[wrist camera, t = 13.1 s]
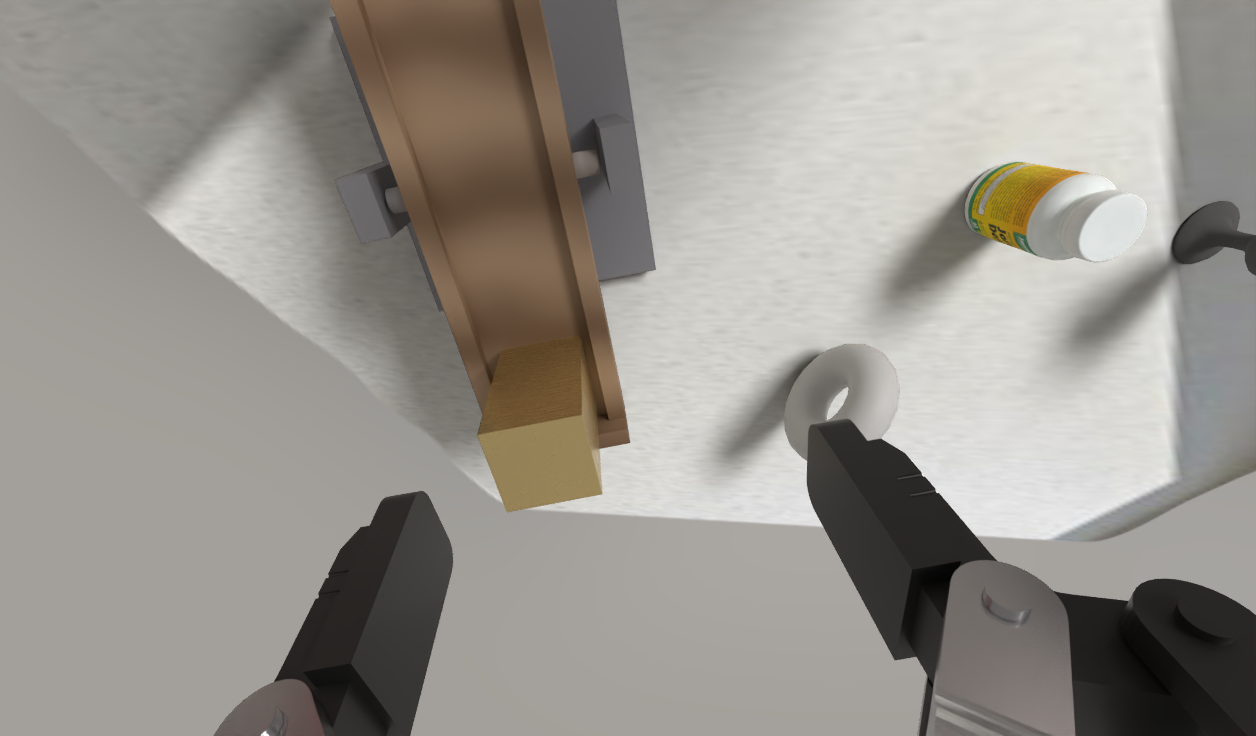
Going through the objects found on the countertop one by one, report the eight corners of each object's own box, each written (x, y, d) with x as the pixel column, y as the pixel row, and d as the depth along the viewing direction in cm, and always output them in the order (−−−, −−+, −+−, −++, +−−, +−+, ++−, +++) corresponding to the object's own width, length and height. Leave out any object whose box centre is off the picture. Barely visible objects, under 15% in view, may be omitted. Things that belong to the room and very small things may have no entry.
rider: (501, 350, 29) (477, 434, 22) (580, 335, 29) (582, 415, 22) (522, 416, 31) (507, 512, 24) (596, 401, 31) (602, 494, 24)
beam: (243, -215, 19) (168, -283, 16) (518, -270, 19) (505, -349, 16) (485, 432, 34) (475, 472, 30) (642, 402, 34) (650, 439, 30)
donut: (835, 315, 42) (904, 375, 33) (865, 334, 43) (939, 397, 34) (760, 407, 46) (803, 483, 37) (789, 423, 47) (838, 500, 38)
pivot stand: (338, 19, 30) (225, -13, 20) (609, -33, 30) (624, -91, 20) (443, 305, 39) (398, 377, 29) (653, 264, 39) (679, 323, 29)
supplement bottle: (1048, 174, 38) (1182, 199, 30) (1001, 243, 40) (1114, 285, 32) (990, 149, 37) (1113, 167, 28) (946, 222, 39) (1048, 259, 31)
